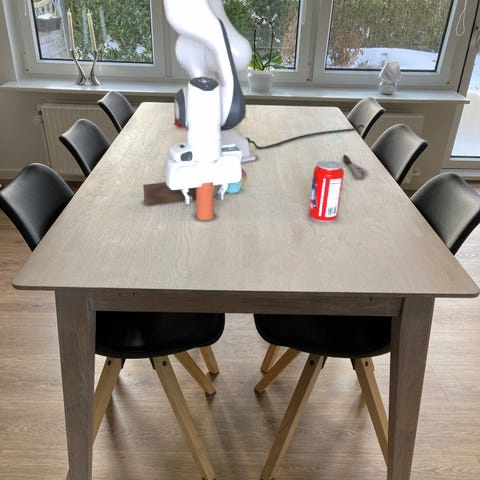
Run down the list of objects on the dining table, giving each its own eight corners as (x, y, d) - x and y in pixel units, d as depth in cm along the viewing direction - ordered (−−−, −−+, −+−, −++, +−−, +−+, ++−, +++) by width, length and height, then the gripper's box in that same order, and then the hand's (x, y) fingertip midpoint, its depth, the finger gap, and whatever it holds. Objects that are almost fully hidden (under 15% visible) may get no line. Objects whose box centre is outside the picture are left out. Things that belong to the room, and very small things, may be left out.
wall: (209, 193, 156) (209, 177, 154) (213, 196, 154) (213, 180, 151) (144, 201, 149) (143, 184, 146) (147, 205, 147) (146, 188, 144)
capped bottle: (209, 211, 145) (210, 172, 138) (216, 218, 141) (216, 177, 135) (193, 214, 143) (192, 173, 137) (199, 220, 139) (199, 179, 133)
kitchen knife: (369, 177, 171) (354, 175, 171) (367, 182, 172) (353, 180, 172) (356, 155, 188) (342, 153, 188) (354, 160, 189) (341, 158, 189)
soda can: (329, 226, 139) (337, 171, 131) (303, 219, 143) (309, 164, 134) (341, 217, 145) (349, 163, 137) (315, 210, 148) (322, 157, 140)
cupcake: (225, 196, 155) (226, 155, 148) (213, 187, 161) (213, 147, 154) (251, 192, 158) (253, 152, 151) (238, 183, 164) (239, 144, 157)
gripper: (236, 142, 138) (235, 192, 146) (162, 148, 131) (164, 201, 138) (246, 149, 133) (244, 200, 141) (169, 156, 126) (172, 210, 134)
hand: (204, 201), depth 140 cm, fingers open, 7 cm apart
